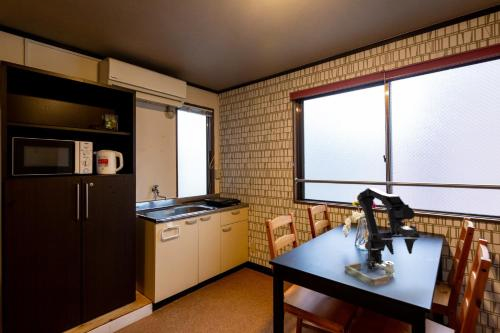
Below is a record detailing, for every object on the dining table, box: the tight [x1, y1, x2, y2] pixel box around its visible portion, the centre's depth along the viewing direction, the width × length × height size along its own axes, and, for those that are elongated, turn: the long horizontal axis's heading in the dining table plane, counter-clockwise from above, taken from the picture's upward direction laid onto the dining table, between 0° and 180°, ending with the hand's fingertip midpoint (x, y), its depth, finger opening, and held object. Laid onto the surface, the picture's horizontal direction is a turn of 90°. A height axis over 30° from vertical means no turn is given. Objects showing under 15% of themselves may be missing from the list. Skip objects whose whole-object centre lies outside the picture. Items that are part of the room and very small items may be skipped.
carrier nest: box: [344, 262, 390, 288], centre depth 119 cm, size 17×10×3 cm, turn 22°
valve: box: [366, 256, 395, 279], centre depth 123 cm, size 7×7×12 cm
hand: (401, 254), depth 116 cm, fingers open, 9 cm apart
